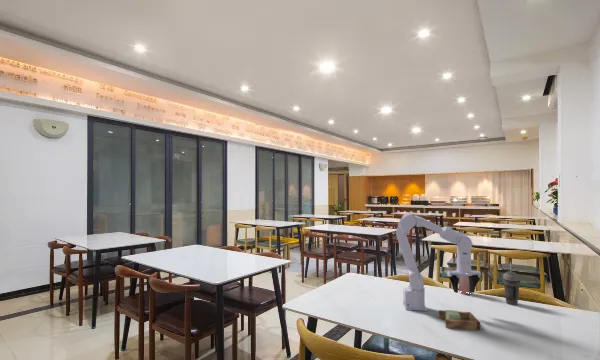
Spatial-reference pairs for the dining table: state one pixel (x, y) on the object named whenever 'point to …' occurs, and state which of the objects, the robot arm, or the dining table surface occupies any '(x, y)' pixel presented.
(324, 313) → the dining table surface
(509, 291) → the beverage cup
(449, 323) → the frame
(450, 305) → the dining table surface
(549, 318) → the dining table surface
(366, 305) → the dining table surface
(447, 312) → the cube
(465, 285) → the beverage can
